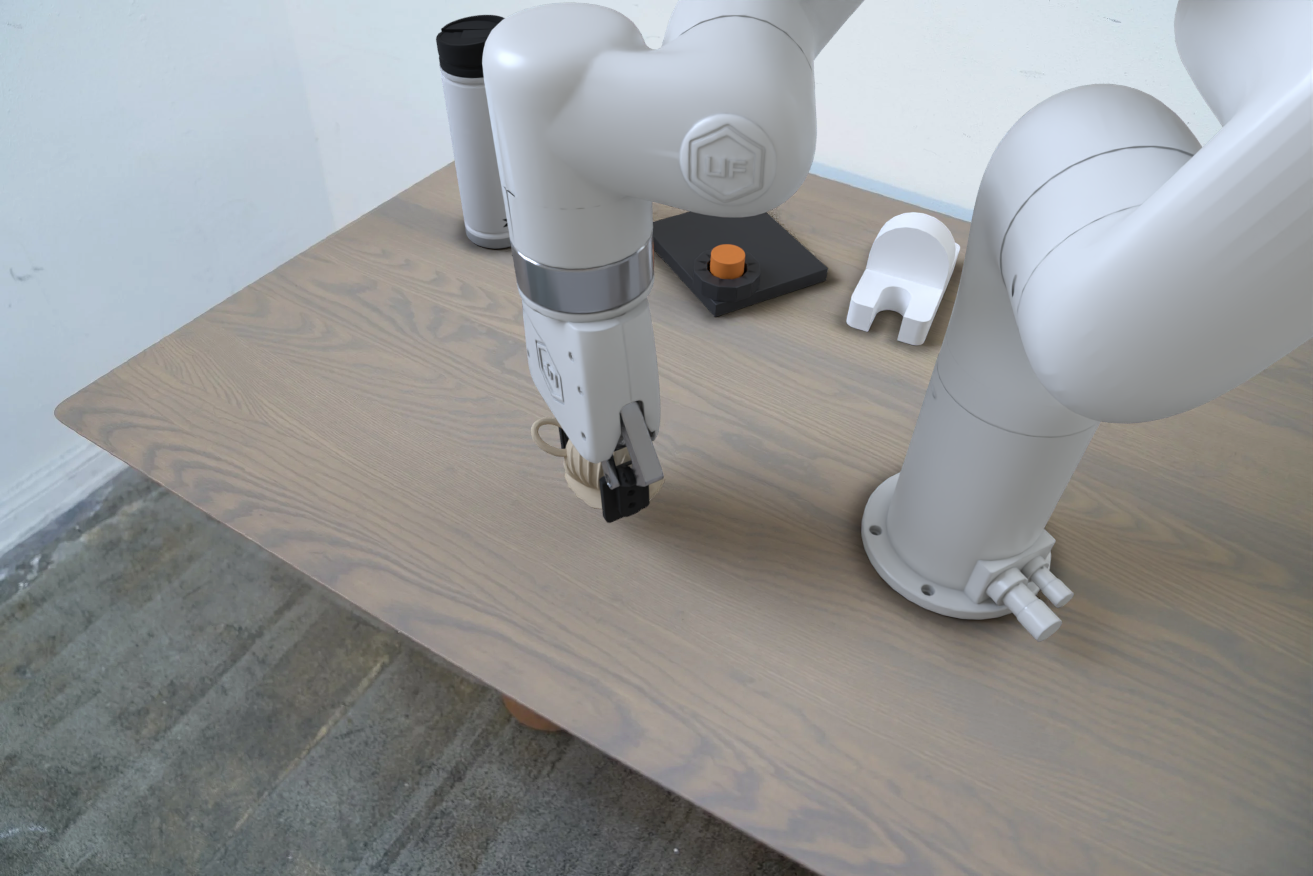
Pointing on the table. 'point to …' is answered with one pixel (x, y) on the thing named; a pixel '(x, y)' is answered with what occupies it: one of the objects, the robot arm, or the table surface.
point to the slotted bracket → (905, 275)
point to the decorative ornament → (583, 467)
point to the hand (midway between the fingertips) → (604, 477)
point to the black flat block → (768, 258)
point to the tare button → (727, 261)
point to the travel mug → (472, 128)
